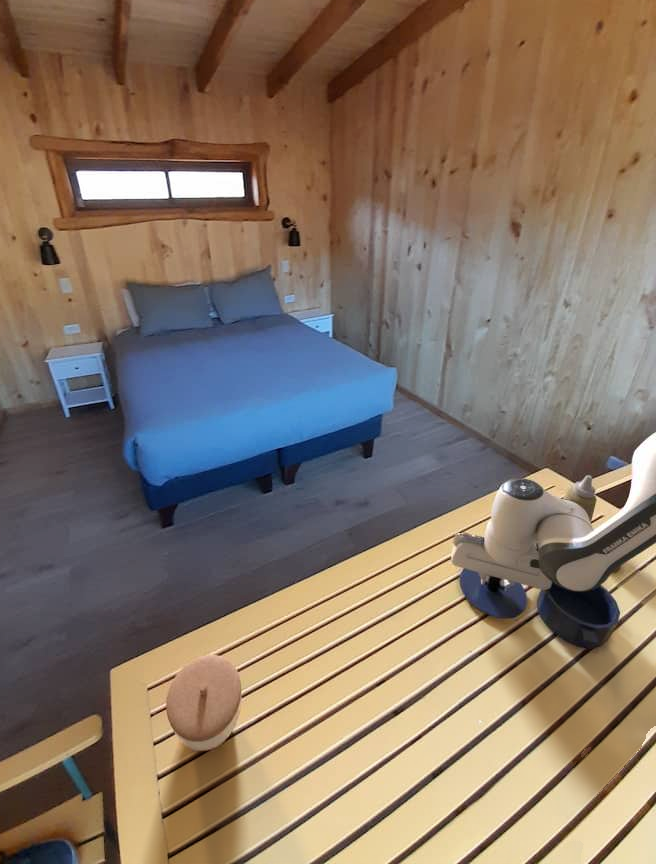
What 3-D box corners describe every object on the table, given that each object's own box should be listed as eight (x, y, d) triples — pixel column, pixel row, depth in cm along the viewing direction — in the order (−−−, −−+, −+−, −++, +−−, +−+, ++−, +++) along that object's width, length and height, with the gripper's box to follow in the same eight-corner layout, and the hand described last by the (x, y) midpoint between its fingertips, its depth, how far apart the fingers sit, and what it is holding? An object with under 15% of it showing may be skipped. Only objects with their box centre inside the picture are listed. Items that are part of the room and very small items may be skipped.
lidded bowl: (180, 781, 65) (169, 748, 60) (169, 699, 76) (159, 666, 71) (254, 741, 70) (249, 708, 65) (234, 669, 80) (229, 636, 75)
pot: (595, 590, 94) (605, 569, 91) (621, 672, 78) (634, 651, 75) (531, 573, 98) (538, 553, 95) (543, 648, 82) (552, 627, 79)
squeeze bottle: (547, 515, 115) (565, 465, 107) (577, 518, 114) (598, 467, 105) (559, 537, 108) (580, 485, 99) (592, 540, 106) (615, 488, 98)
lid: (522, 574, 98) (527, 560, 95) (530, 630, 86) (535, 615, 84) (459, 558, 102) (462, 543, 100) (458, 608, 90) (462, 593, 88)
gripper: (455, 541, 88) (445, 583, 94) (562, 568, 81) (544, 611, 87) (455, 521, 93) (446, 562, 99) (556, 545, 86) (540, 587, 93)
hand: (493, 585), depth 93 cm, fingers closed on lid, 2 cm apart
